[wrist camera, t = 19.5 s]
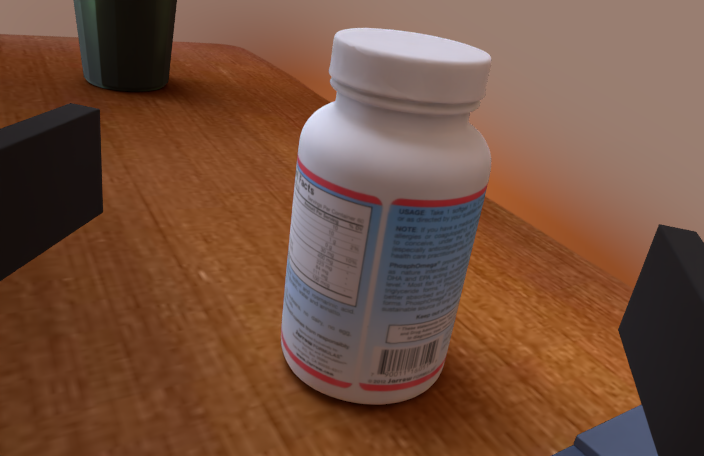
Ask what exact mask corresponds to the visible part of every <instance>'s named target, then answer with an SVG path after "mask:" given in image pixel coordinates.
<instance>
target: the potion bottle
mask: <svg viewBox="0 0 704 456" xmlns="http://www.w3.org/2000/svg"><path fill="white" fill-rule="evenodd" d="M176 3H177V0H74V7H75V14H76V22H77V29H78V37H79V44H80V52H81V59H82V66H83V74H84V77H85V78H86V80H87V81H89V82H90V83H91V84H93V85H95V86H99V87H102V88H106V89H112V90H118V91H134V92H136V91H151V90H156V89H160V88H162V87H163V86H165V85H166V84H167V83H168V80H169V70H170V61H171V51H172V42H173V32H174V22H175V13H176Z"/></svg>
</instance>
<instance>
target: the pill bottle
mask: <svg viewBox="0 0 704 456" xmlns="http://www.w3.org/2000/svg"><path fill="white" fill-rule="evenodd" d="M490 67H491V56H490V55H489V54H488V53H486V52H485V51H483V50H481V49H478V48H475V47H473V46H470V45H467V44H464V43H460V42H457V41H453V40H449V39H445V38H440V37H435V36H430V35H425V34H419V33H413V32H406V31H398V30H389V29H375V28H352V29H346V30H341V31H339V32H337V33H336V35H335V37H334V42H333V50H332V57H331V64H330V68H329V73H330V75H331V76H332V78H331V80H330V83H331V86H332V87H333V88H334V89H335V90H336V91H337V96H336V101H335V102H331V103H329V104H327V105H325V106H323V107H321V108H320V109H319V110H317V111H316V112H315V113H314V114H313V115H312V116H311V117H310V118H309V119H308V120H307V122H306V123H305V125H304V127H303V130H302V133H301V136H300V141H299V149H298V158H297V167H296V177H295V188H294V198H293V208H292V220H291V229H290V240H289V249H288V260H287V273H286V282H285V293H284V305H283V315H282V326H281V345H282V350H283V353H284V356H285V359H286V361H287V363H288V365H289V366H290V368H291V369H292V371H293V372H294V373H295V374H296V375H297V376H298V377H299V378H300V379H301V380H302V381H303V382H305V383H306V384H307V385H309V386H310V387H312V388H314V389H315V390H317V391H319V392H321V393H323V394H326V395H328V396H331V397H334V398H337V399H340V400H344V401H348V402H353V403H359V404H372V405H379V404H391V403H397V402H401V401H405V400H408V399H411V398H414V397H416V396H418V395H420V394H422V393H423V392H425V391H426V390H427V389H429V388H430V387H431V386H432V385H433V384H434V383H435V381H436V380H437V379H438V377H439V375H440V373H441V371H442V369H443V366H444V362H445V358H446V355H447V350H448V346H449V342H450V338H451V334H452V330H453V326H454V322H455V317H456V313H457V309H458V305H459V301H460V297H461V292H462V288H463V284H464V280H465V276H466V271H467V267H468V263H469V259H470V255H471V251H472V247H473V243H474V239H475V234H476V230H477V226H478V222H479V218H480V214H481V209H482V205H483V202H484V197H485V193H486V189H487V184H488V181H489V175H490V170H491V154H490V150H489V147H488V145H487V142H486V141H485V139H484V137H483V136H482V134H481V133H480V132H479V131H478V130H477V129H476V128H475V127H474V126H473V125H471V124H470V123H469V116H470V112H473V111H475V110H476V109H478V108H479V106H480V100H481V99H483V98H484V97H485V92H486V84H487V80H488V76H489V71H490Z"/></svg>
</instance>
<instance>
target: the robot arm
mask: <svg viewBox="0 0 704 456" xmlns="http://www.w3.org/2000/svg"><path fill="white" fill-rule="evenodd" d="M101 213H103V197H102V166H101V135H100V109H96V108H92V107H87V106H82V105H77V104H72V103H70V104H67V105H65V106H62V107H59V108H56V109H54V110H51V111H48V112H45V113H43V114H40V115H37V116H34V117H32V118H29V119H26V120H23V121H21V122H18V123H15V124H13V125H10V126H7V127H4V128H2V129H0V281H1V280H3V279H4V278H6V277H7V276H9V275H10V274H12V273H13V272H15V271H16V270H18V269H19V268H21V267H22V266H24V265H25V264H27V263H28V262H29V261H31V260H32V259H34V258H35V257H37V256H38V255H40V254H41V253H43V252H44V251H46V250H47V249H49V248H50V247H52V246H53V245H55V244H56V243H58V242H59V241H61V240H62V239H64V238H65V237H67V236H68V235H70V234H71V233H73V232H74V231H76V230H77V229H79V228H80V227H82V226H83V225H85V224H86V223H88V222H89V221H91V220H92V219H94V218H95V217H97V216H98V215H100V214H101ZM618 331H619V334H620V337H621V340H622V343H623V347H624V350H625V353H626V356H627V359H628V362H629V366H630V369H631V372H632V375H633V378H634V381H635V385H636V388H637V391H638V394H639V397H640V400H641V404H642V407H643V410H644V413H645V416H646V419H647V422H648V426H649V429H650V432H651V435H652V438H653V441H654V445H655V448H656V451H657V454H658V456H704V242H703V241H702V240H701V238H700V237H699V235H698V234H697V232H694V231H689V230H684V229H680V228H675V227H670V226H665V225H659V227H658V229H657V231H656V234H655V236H654V239H653V242H652V244H651V247H650V249H649V252H648V254H647V257H646V259H645V262H644V265H643V267H642V270H641V272H640V275H639V278H638V280H637V283H636V285H635V288H634V290H633V293H632V295H631V298H630V301H629V303H628V306H627V308H626V311H625V313H624V316H623V319H622V321H621V324H620V326H619V329H618Z"/></svg>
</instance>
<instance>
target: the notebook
mask: <svg viewBox="0 0 704 456" xmlns="http://www.w3.org/2000/svg"><path fill="white" fill-rule="evenodd" d="M552 456H658V454H657V451H656V448H655V445H654V441H653V438H652V435H651V432H650V429H649V426H648V422H647V419H646V416H645V413H644V410H643V407H642V405H640V406H638V407H636V408H633V409H631V410H629V411H627V412H625V413H623V414H621V415H619V416H617V417H615V418H612V419H610V420H608V421H606V422H604V423H602V424H600V425H598V426H596V427H594V428H591V429H589V430H587V431H585V432H583V433H581V434H579V435H577V436H576V439H575V441H574V445H572V446H570V447H568V448H566V449H564V450H562V451H560V452H558V453H556V454H554V455H552Z"/></svg>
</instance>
